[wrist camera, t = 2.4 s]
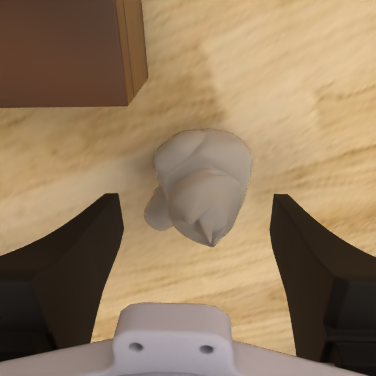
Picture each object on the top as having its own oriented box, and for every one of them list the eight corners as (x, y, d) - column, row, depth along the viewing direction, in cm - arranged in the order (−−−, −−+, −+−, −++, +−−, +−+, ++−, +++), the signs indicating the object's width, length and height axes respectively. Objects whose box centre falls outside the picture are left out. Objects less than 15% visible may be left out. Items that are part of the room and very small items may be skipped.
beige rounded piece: (269, 165, 19) (302, 259, 13) (184, 219, 22) (173, 324, 15) (213, 93, 17) (217, 158, 11) (126, 162, 20) (83, 251, 13)
